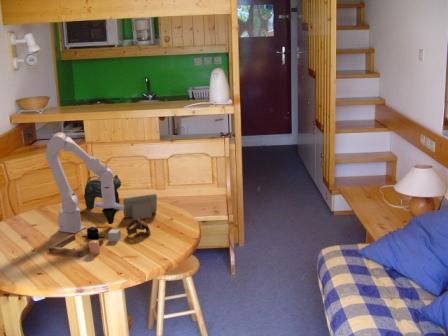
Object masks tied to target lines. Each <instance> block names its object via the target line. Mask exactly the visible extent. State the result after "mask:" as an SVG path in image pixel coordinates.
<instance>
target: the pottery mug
mask: <svg viewBox="0 0 448 336" xmlns="http://www.w3.org/2000/svg"><path fill="white" fill-rule="evenodd" d="M134 224H135V225H134ZM133 225H134V226H133ZM132 226H133V227H132ZM131 227H132V228H131ZM125 229H126V233H127V235H128V236H130V235H134V234H136V235H138V230H140V231H143V230H145V232H146V233H147V235H148V237H150V236H151V234H152V233H151V232H152V231H151V229H150V228H149V225H148V224H147V223H146V220H145V218H139V219H134V220H131V221H130V222H128V224H127V226H126V228H125Z"/></svg>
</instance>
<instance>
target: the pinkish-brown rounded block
mask: <svg viewBox="0 0 448 336" xmlns="http://www.w3.org/2000/svg"><path fill="white" fill-rule="evenodd" d="M88 245H89V250H90V252H89V255H90V256H98V255H100V253H101V251H100V246H99V241H98V240H90V241H88Z"/></svg>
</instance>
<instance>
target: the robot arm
mask: <svg viewBox="0 0 448 336" xmlns="http://www.w3.org/2000/svg"><path fill="white" fill-rule="evenodd" d="M62 150H63V151H64V152H71V153H73V154H74V155H75V156H76V157H78V158H79V159H80V160H82V161H83V163H85V167H86V168H87V169H88V170H89V171H91V173H93V174H94V176H96V177H99V178H98V179H100V181H101V192H102V198H101V200H102V201H97V202H94V208H102V209H101V212H102V213H103V215H104V217H105V218H106V220H107V223H108V225H113V224H114V220H115V216H116V213H117V212H118V211H124V205H123V204H120V203H119V204H118V203H116V202H115V191H114V184H113V177H114V171H113V169H112V168H111V167H109V166H108V165H105V164H104V163H102V162H101V161H100V158H99V157H95V156H90V155H89V154H88V153H87V152H86V151H85V150H84V149H83V148H82V147H81V146H80V145H78V144H77V143H76V142H75V141H74V140H73V139H72V138H71V137H70V136H68V135H66V134H65V133H64V132H61V131H60V132H59V131H58V132H56V133H54V135H53V136H52V137H51V138H50V139H49V141H48V143H47V145H46V152H45V155H44V156H45V159H46V162H47V164H48V167H49V169H50V173H52V177H53V179H54V181H55V184H56V186H57V189H58V191H59V193H60V201H61V208H62V209H61V210H60V211H58V215H57V221H58V232H64V233H71V234H77V233H78V232H80V231H82V230H84V229H85V228H87V227H86V226H85V225H82V220H81V212H80V211H81V210H80V207H79V206H78V205H79V203H80V199H79V196H78V195H77V194H76V193H75V191H74V190H73V188H71V185H70V182H69V180H68V177H67V175H66V172H65V171H64V168H63V166H62V163H61V161H60V158H59V154H60V152H61V151H62ZM117 209H119V210H118V211H117Z"/></svg>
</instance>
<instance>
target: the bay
mask: <svg viewBox="0 0 448 336" xmlns="http://www.w3.org/2000/svg"><path fill="white" fill-rule="evenodd" d="M74 240H76V234H75V233H71V234H70V235H68V236H66V237H64V238H62V239H61V240H59V241H57V242H56V243H53V244H52V245H50V246H48V251H49V253H53V254H60V255H65V256H66V255H67V256H71V257H72V256H73V257H76V258H77V257H78V258H82V257H84V256H86V255H87V254H90V250H89V244H87V246H85V247H84V248H82V249H80V250H79V249H72V248H67V247H66V248H65V247H64V246H66V245H68V244H70V243H71V242H72V241H74ZM98 241H99V247H100V246H101V245H103V244H104V238H102V239H101V238H100V239H98Z"/></svg>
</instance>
